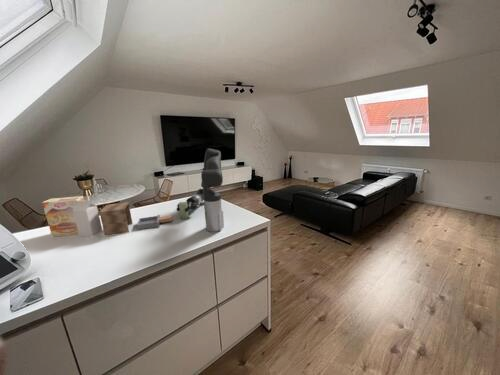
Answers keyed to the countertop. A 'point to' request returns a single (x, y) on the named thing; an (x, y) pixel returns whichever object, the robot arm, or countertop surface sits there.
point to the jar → (183, 210)
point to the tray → (152, 221)
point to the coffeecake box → (61, 215)
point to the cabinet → (116, 218)
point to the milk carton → (87, 219)
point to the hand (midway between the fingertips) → (181, 210)
